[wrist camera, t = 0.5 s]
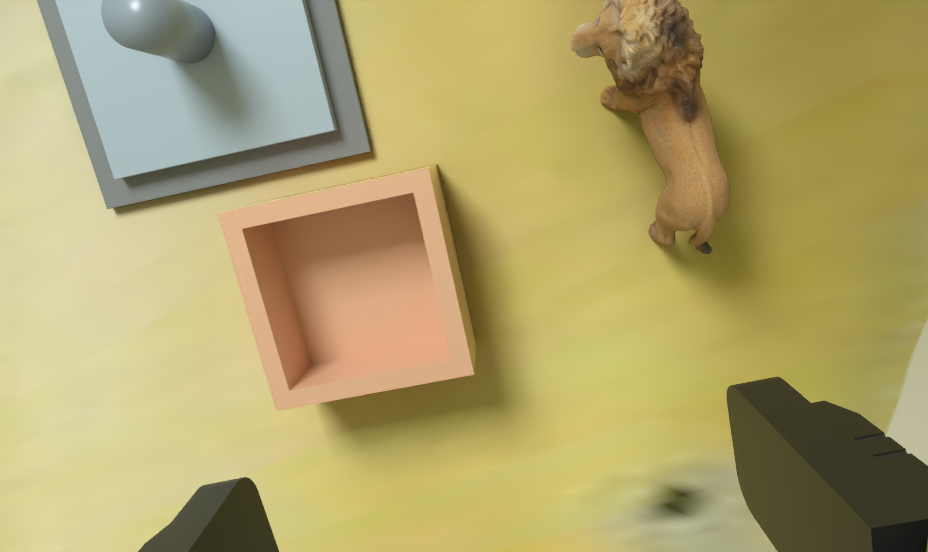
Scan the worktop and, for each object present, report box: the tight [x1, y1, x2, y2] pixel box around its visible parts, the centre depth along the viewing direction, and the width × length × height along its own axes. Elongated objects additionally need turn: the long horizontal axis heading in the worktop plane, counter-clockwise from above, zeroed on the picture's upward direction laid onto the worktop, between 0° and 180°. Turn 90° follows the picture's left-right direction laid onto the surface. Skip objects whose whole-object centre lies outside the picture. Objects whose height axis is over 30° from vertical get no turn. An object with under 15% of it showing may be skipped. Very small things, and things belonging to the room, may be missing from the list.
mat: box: [37, 0, 372, 209], centre depth 33 cm, size 16×16×1 cm
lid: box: [55, 0, 338, 179], centre depth 30 cm, size 13×13×6 cm
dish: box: [218, 165, 476, 411], centre depth 34 cm, size 11×11×5 cm
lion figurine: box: [570, 0, 730, 254], centre depth 29 cm, size 15×5×9 cm, turn 31°
